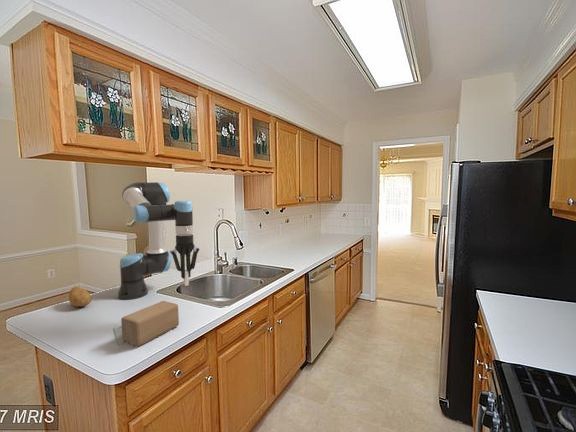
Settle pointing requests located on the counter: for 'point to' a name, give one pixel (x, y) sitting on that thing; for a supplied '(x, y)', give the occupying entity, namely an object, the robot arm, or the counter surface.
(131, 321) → the wooden block
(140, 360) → the counter surface
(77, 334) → the counter surface
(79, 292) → the potato
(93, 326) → the counter surface
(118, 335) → the mat
